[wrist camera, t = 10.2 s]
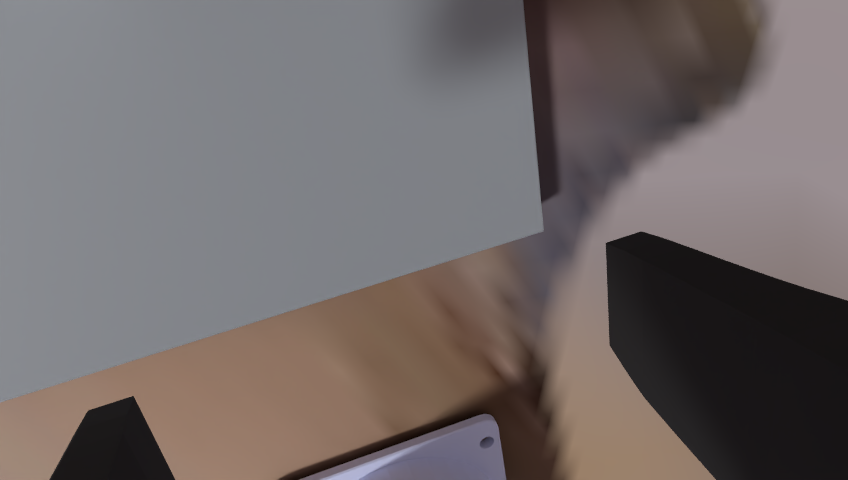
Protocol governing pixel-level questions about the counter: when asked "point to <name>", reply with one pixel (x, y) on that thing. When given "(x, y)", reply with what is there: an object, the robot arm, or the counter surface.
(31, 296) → the base plate
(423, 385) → the counter surface
